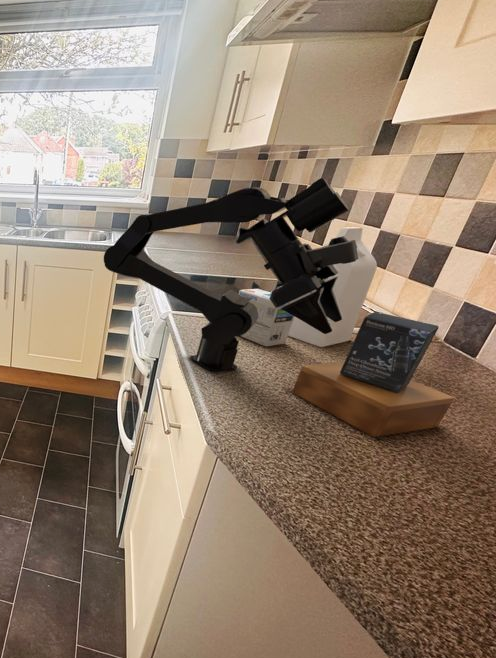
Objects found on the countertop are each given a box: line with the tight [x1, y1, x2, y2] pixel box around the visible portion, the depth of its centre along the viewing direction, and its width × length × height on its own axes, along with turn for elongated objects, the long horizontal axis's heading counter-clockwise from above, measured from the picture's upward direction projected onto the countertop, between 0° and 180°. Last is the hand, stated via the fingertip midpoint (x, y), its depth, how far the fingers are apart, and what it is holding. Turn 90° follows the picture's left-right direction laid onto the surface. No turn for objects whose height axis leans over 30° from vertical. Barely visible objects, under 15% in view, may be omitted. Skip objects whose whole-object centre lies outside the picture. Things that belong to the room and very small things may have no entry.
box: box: [340, 310, 439, 393], centre depth 67 cm, size 8×6×11 cm
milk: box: [287, 226, 378, 348], centre depth 99 cm, size 12×12×26 cm
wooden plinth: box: [291, 360, 455, 438], centre depth 70 cm, size 14×14×6 cm
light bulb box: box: [238, 288, 294, 347], centre depth 99 cm, size 11×7×11 cm, turn 22°
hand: (334, 326), depth 70 cm, fingers open, 9 cm apart
